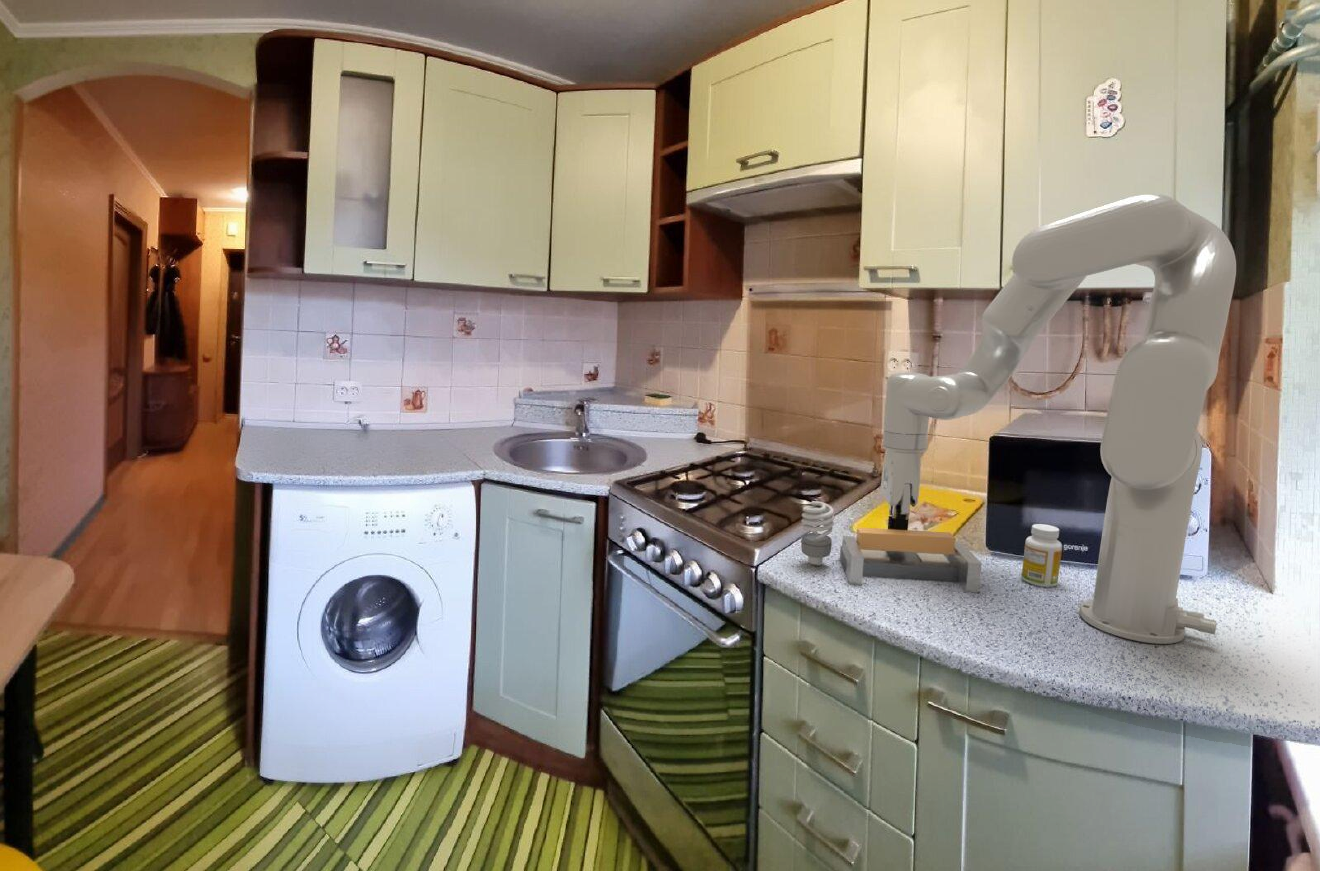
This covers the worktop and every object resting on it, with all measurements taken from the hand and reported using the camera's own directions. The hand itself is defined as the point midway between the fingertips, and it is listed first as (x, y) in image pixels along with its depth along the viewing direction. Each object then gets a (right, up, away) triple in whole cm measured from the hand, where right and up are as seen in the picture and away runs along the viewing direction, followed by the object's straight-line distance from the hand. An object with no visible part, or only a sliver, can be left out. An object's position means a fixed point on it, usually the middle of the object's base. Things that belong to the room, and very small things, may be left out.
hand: (896, 538), depth 120 cm
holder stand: (-1, -5, -7) cm, 9 cm away
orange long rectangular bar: (-1, -1, -6) cm, 6 cm away
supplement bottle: (+21, -6, -9) cm, 24 cm away
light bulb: (-16, -5, -3) cm, 17 cm away
